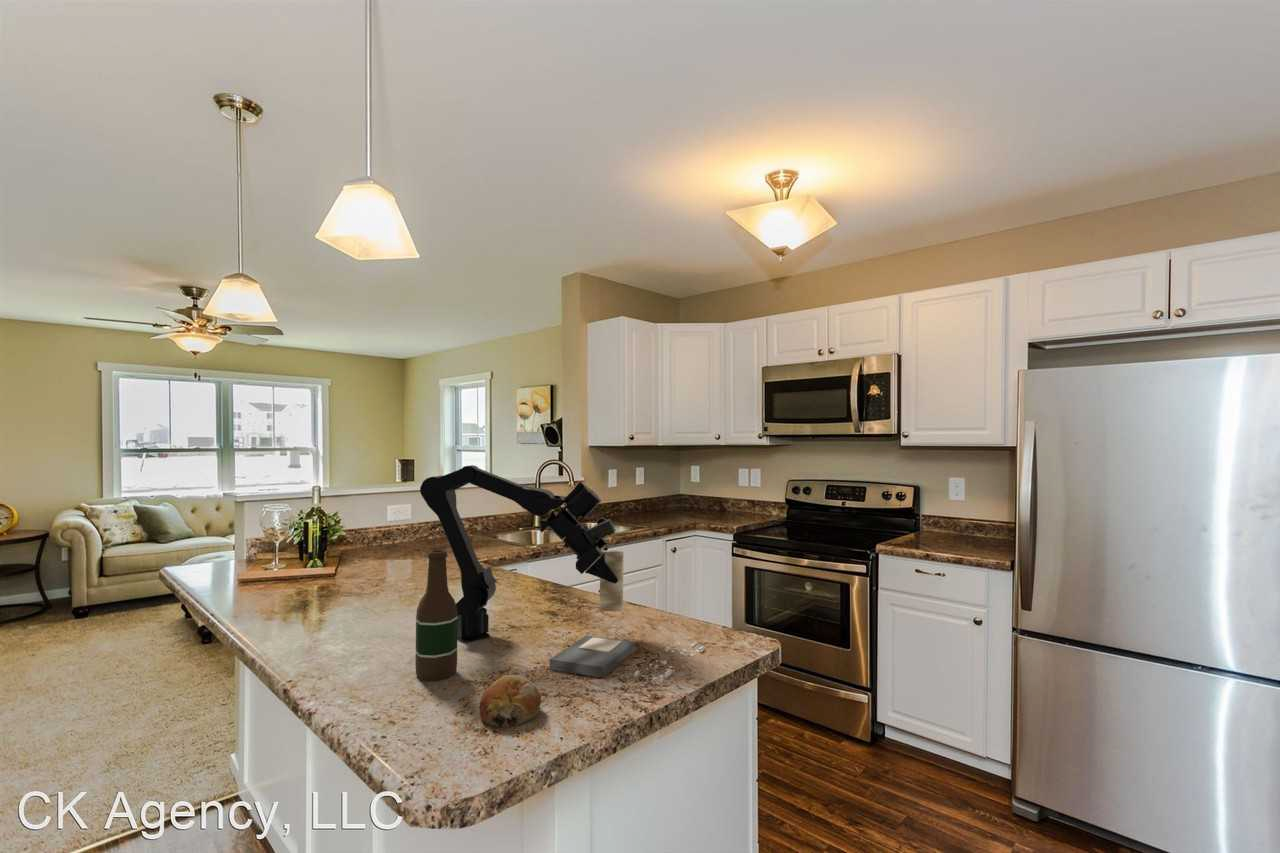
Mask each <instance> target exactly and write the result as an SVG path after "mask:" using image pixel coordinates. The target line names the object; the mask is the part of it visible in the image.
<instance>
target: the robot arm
mask: <svg viewBox="0 0 1280 853" xmlns="http://www.w3.org/2000/svg"><path fill="white" fill-rule="evenodd" d="M468 484H471V485H473V486H476V487H478V488H481V489H484V490H486V491H488V492H491V493H493V494H496V495H498V496H500V497H503V498H505V499H509V500H510V501H513V502H514V503H516V504H517V505H519V506H520V507H521V508H522V509H524V510H526V511H527V512H528V513H530V514H532V515H534V516H537V517H543V516H545V515H548V514H550V513H551V514H550V515H549V516H548V517H547V518H546V519H540V521H539V523H540V529H539V530H540V531H539V532H540V533H544V532H545V531H547V529H548V528H549V529H550V530H551V531H552V532H553V533H554V534H555V535H556V537H558V538H559V540H561V542H563V543H564V544H563V546H564V547H565V548H566V549H569V550H571V552H573V553H574V554H575V555H576V557H575V558H576V562H575V569H576V570H577V571H578V572H579V573H580V575H583V574H584V573H585V574H589V575H591V576H594V577H597V578H599V579H600V578H602V579H604V580H607V581H609V582H612V583H614V584H616V583H617V582H618V579H617V577H616V576H615V574H614V573H613V572H612V570H611V569H610V567H609V566H608V565H607V563H606V562H605V552H604V553H603V554H602V551H609V545H608V540H607V539H605V537H608V536H612V535H613V534H616V533H615V532H616V528H615V526H614V525H613V524H614V523H613V521H612V520H611V519H610V518H608V519H606V518H605V517H604V516H603V517H600V518H598V519H597V520H596V525H594V526H592V527H588V526H587V525H582V524H581V523H580V522H579V521H578V520H577V519H579V518H580V517H582V518H583V519H585V518H586V517H587V516H588V515H589V514H591V513H592V511H593V510H594V509H595V508H596V507H597V506H598V505H599V504H600V503H601V502H602V499H601V498H600V497H599V496H598V494H597V493H596V492H595V491H594V490H593V489H591V488H590V487H588V486H587V485H586V484H585V483H583V481H579V482H578V483H577V484H576V485H575V486H574V488H573V490H572V491H571V492H570V493H568V495H567V496H564V495H555V494H554V493H553V492H552V491H551V490H548V489H544V488H539V487H534V486H527V485H521V484H520V483H517V482H514V481H511V480H509V479H507V478H504V477H502V476H499V475H497V474H494V473H492V472H489V471H487V470H484V469H482V468H479V467H478V466H477V465H473V464H471V465H465V466H463V467H461V468H459V469H458V470H455V471H452V472H450V473H447V474H444V475H436V476H430V477H427V478H425V479H424V480H423V481H422V483H421V486H420V487H419V489H420V490H419V492H420V495H421V496H422V499H423V500H424V501H425V503H426V505H427V507H428V508H430V509H431V511H432V512H433V513H435V515H436V516H437V518H438V520H439V522H440V525H441V527H442V530H443V532H444V535H445V536H446V539H447V542H448V544H449V546H450V548H451V551H452V554H453V556H454V558H455V560H456V564H457V566H458V568H459V570H460V583H461V589H462V594H463V596H462V597H461V599H459V600H458V601H457V602H455V603H456V606H457V616H458V622H457V640H459V641H461V642H462V643H468V642H472V641H477V640H481V639H486V638H490V637H491V635H490V633H489V623H490V622H489V621H490V620H489V618H490V617H489V616H490V615H489V614H488V609H487V608H486V607H485V606H487V604H488V602H489V601H490V599H492V597H494V596H495V593H496V591H497V587H496V586H497V585H496V583H497V582H498V580H497V579H496V578H495V577H494V575H493V571H492V567H491V566H487V567H486V568H484V566H483V565H482V564H481V563H480V562H479V558H478V557H477V555H476V552H475V549H474V548H473V545H472V542H471V540H470V538H469V536H468V533H467V531H466V528H465V526H464V523H463V521H462V519H461V516H460V514H459V512H458V508H457V493H456V490H458V489H461V488H462V487H464V486H466V485H468ZM562 506H564V507H563V508H562V509H561V510H560V511H559V512H558V511H553V510H558V509H560V508H561V507H562ZM552 511H553V512H552ZM575 517H576V518H577V519H576V518H575ZM604 546H605V547H604ZM603 547H604V548H603ZM601 554H602V555H601Z"/></svg>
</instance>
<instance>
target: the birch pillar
mask: <svg viewBox="0 0 1280 853" xmlns="http://www.w3.org/2000/svg"><path fill="white" fill-rule="evenodd" d="M604 552H605V562H606V563H607V565H608V566H609V567H610V569H611V570H612V572H613V573H614V574H615V576H616V577H617V579H618V582H617V583H616V584H614V583H612V582H609V581H607V580H604V579H602V578H599V612H622V610H623V608H624V607H623V606H624V550H608V551H602V554H603V553H604ZM602 554H601V555H602Z"/></svg>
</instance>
